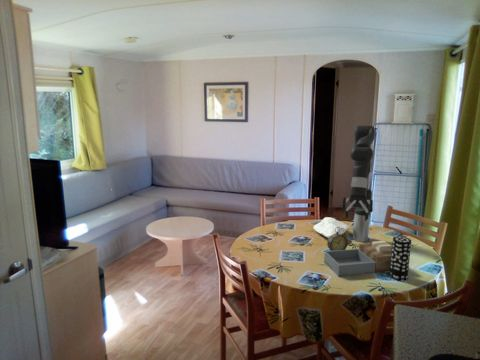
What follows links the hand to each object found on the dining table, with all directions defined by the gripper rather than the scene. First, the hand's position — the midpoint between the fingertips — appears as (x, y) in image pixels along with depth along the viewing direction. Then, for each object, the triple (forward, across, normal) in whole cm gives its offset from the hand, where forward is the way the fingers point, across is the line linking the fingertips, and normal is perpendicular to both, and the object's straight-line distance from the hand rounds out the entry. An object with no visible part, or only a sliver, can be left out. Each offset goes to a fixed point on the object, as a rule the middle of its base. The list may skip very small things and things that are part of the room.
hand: (356, 219), depth 178 cm
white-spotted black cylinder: (+27, -21, -16) cm, 37 cm away
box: (+26, +4, -17) cm, 31 cm away
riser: (+23, -11, -26) cm, 37 cm away
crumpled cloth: (+12, +20, -62) cm, 66 cm away
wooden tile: (+14, -12, -24) cm, 30 cm away
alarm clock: (+21, +12, -32) cm, 40 cm away
